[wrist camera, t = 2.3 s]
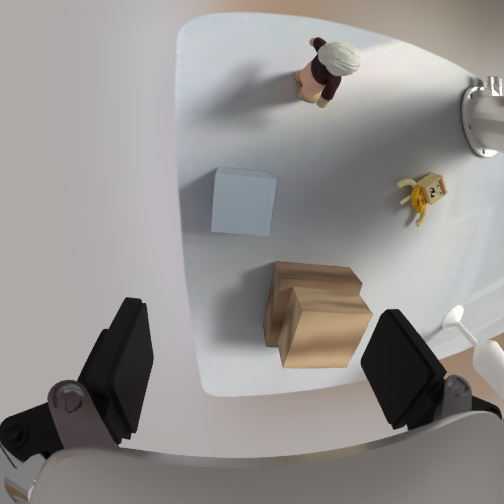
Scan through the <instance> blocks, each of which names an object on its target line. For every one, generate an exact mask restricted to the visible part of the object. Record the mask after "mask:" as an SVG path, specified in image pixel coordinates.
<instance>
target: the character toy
mask: <svg viewBox="0 0 504 504" xmlns="http://www.w3.org/2000/svg"><path fill="white" fill-rule="evenodd" d="M396 185H397V187H398V188H399V189H400V188H401V187H403V186H405V185H411V186H412V188H414V189H413V190H412V193H411V196H410V195H409V196H407V197H406V198H404V199H403V200H402V201H400V204H401V205H402V204H404V203H405V202H406V201H408V200H409V199H412V205H413V208H414V210H416V213H421V214H420V217H419V219H418V220H417V221H416V225H417V226H418V227H419V226H421V224H422V223H423V222H424V220H425V218H426V214H427V205H426V203H429V204H431V205H432V204H433V203H435V202H436V201H437V200H439V199H440V198H442V197H443V196H444V195H446V194H447V193H448V192H447V189H446V185H445V182H444V179H443V176H441V175H438V174H435V173H432V172H431V173H430V174H429V175H427V176H426V177H424V178H423V179H421V180H420V181H418V182H417V183H416V182H415V181H414V180H412V179H404V180H401V181H399V182H398V183H396Z"/></svg>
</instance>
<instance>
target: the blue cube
mask: <svg viewBox="0 0 504 504" xmlns="http://www.w3.org/2000/svg"><path fill="white" fill-rule="evenodd" d="M276 185H277V179H276V178H275V177H274V176H273V175H272V174H271V173H270V172H264V171H255V170H246V169H236V168H225V167H218V169H217V171H216V173H215V184H214V195H213V207H212V220H211V232H218V233H230V234H242V235H253V236H264V237H269V233H270V226H271V219H272V212H273V206H274V199H275V192H276Z"/></svg>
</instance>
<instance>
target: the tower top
mask: <svg viewBox="0 0 504 504" xmlns="http://www.w3.org/2000/svg"><path fill="white" fill-rule="evenodd" d="M372 315H373V314H372V312H371V311H370V309H369V308H368V306H367V305H366V304H365V302H364V301H363V299H362V298H361V296H360V295H359V294H358V292H348V291H336V290H325V289H313V288H303V287H293V289H292V293H291V296H290V300H289V303H288V307H287V310H286V314H285V317H284V321H283V324H282V328H281V331H280V334H279V338H278V341H277V343H278V348H279V353H280V357H281V362H282V367H283V368H343V367H347V366H348V364H349V362H350V360H351V358H352V356H353V354H354V353H355V351H356V349H357V347H358V345H359V343H360V341H361V339H362V337H363V335H364V333H365V330H366V328H367V326H368V324H369V322H370V320H371V318H372Z"/></svg>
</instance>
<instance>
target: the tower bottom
mask: <svg viewBox="0 0 504 504" xmlns="http://www.w3.org/2000/svg"><path fill="white" fill-rule="evenodd" d="M293 287H303V288H313V289H325V290H336V291H348V292H358V294H359V293H360V290H361V287H362V282H361V281H360V280H359V279H358V277H357V276H356V275H355V274H354V272H353V271H352V270H351V269H350V267H338V266H326V265H313V264H301V263H289V262H278V261H275V266H274V272H273V277H272V282H271V288H270V293H269V298H268V304H267V309H266V314H265V319H264V324H263V329H264V335H265V341H266V347H278V343H277V341H278V338H279V334H280V331H281V328H282V324H283V321H284V317H285V314H286V310H287V307H288V303H289V300H290V296H291V293H292V289H293Z"/></svg>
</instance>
